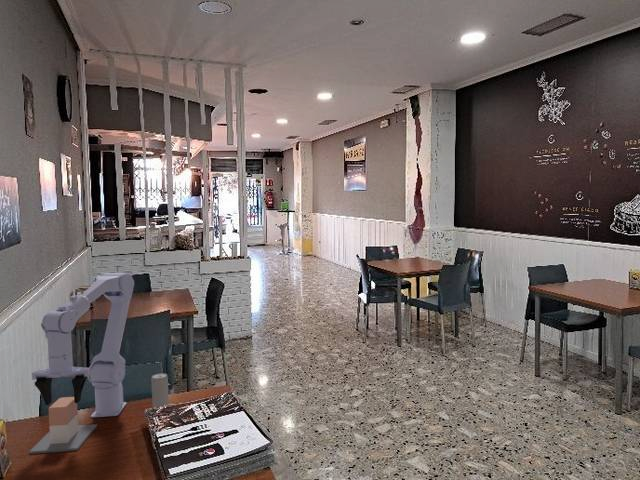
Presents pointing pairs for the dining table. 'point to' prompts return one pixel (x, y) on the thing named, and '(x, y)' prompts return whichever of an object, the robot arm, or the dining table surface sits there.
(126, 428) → the dining table surface
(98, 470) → the dining table surface
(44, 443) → the base mat
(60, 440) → the white brick
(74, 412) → the terracotta brick
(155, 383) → the beverage can
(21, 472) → the dining table surface
